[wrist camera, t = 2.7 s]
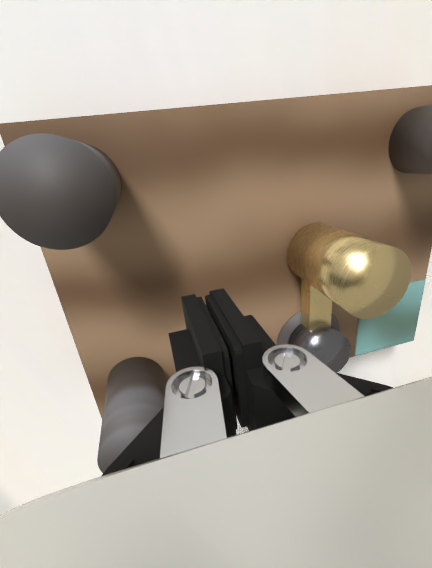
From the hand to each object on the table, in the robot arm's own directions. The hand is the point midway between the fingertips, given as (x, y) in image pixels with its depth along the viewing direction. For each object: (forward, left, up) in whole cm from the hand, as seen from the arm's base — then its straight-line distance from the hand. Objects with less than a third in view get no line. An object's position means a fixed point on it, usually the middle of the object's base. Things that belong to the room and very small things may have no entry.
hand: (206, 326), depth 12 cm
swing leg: (+2, +7, -5) cm, 9 cm away
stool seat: (0, +5, -8) cm, 9 cm away
